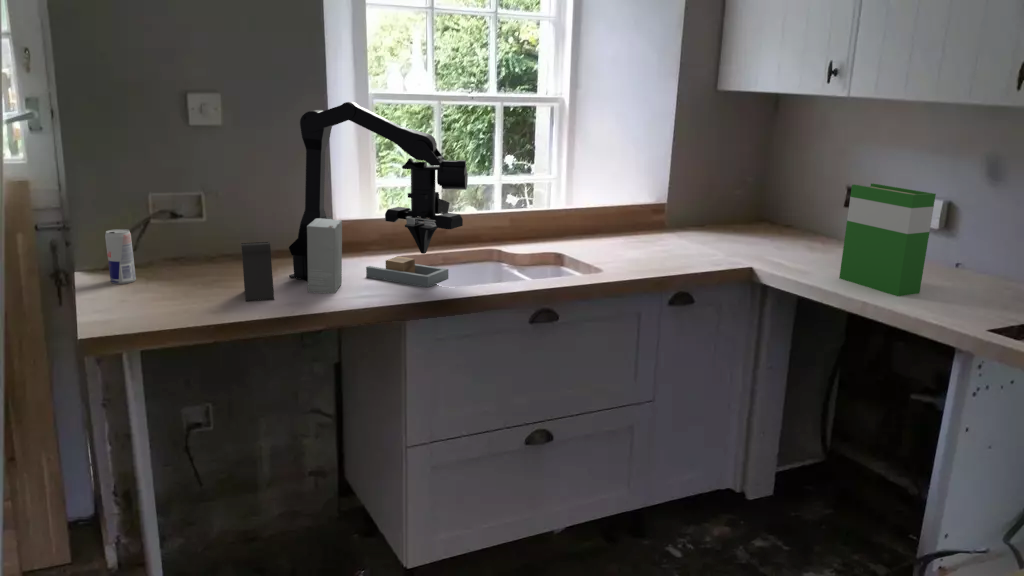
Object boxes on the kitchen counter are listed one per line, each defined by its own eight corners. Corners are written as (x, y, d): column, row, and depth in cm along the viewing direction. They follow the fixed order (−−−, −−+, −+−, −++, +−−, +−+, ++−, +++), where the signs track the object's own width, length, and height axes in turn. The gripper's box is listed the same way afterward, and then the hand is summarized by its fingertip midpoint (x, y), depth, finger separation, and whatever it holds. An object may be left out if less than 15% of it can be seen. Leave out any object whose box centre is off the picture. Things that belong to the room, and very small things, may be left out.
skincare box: (315, 283, 187) (312, 217, 183) (345, 284, 187) (343, 218, 183) (306, 293, 179) (302, 224, 175) (337, 294, 179) (335, 225, 175)
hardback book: (839, 278, 202) (851, 184, 196) (860, 275, 205) (873, 183, 199) (897, 296, 187) (913, 195, 181) (919, 293, 190) (935, 193, 184)
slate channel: (427, 287, 186) (427, 276, 185) (366, 276, 194) (366, 266, 193) (448, 278, 194) (448, 269, 193) (388, 269, 202) (388, 259, 201)
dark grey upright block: (244, 291, 180) (240, 239, 177) (272, 289, 182) (268, 238, 179) (245, 302, 172) (241, 248, 169) (274, 300, 174) (270, 246, 171)
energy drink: (111, 279, 187) (105, 229, 184) (136, 277, 189) (131, 228, 186) (109, 285, 182) (103, 234, 179) (135, 283, 184) (129, 232, 181)
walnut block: (403, 281, 192) (402, 262, 190) (386, 278, 194) (385, 260, 193) (414, 276, 196) (414, 258, 195) (398, 273, 198) (398, 256, 197)
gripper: (475, 187, 188) (474, 251, 193) (410, 181, 197) (410, 242, 201) (449, 193, 179) (449, 260, 183) (383, 186, 187) (384, 250, 191)
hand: (423, 253), depth 190 cm, fingers closed
